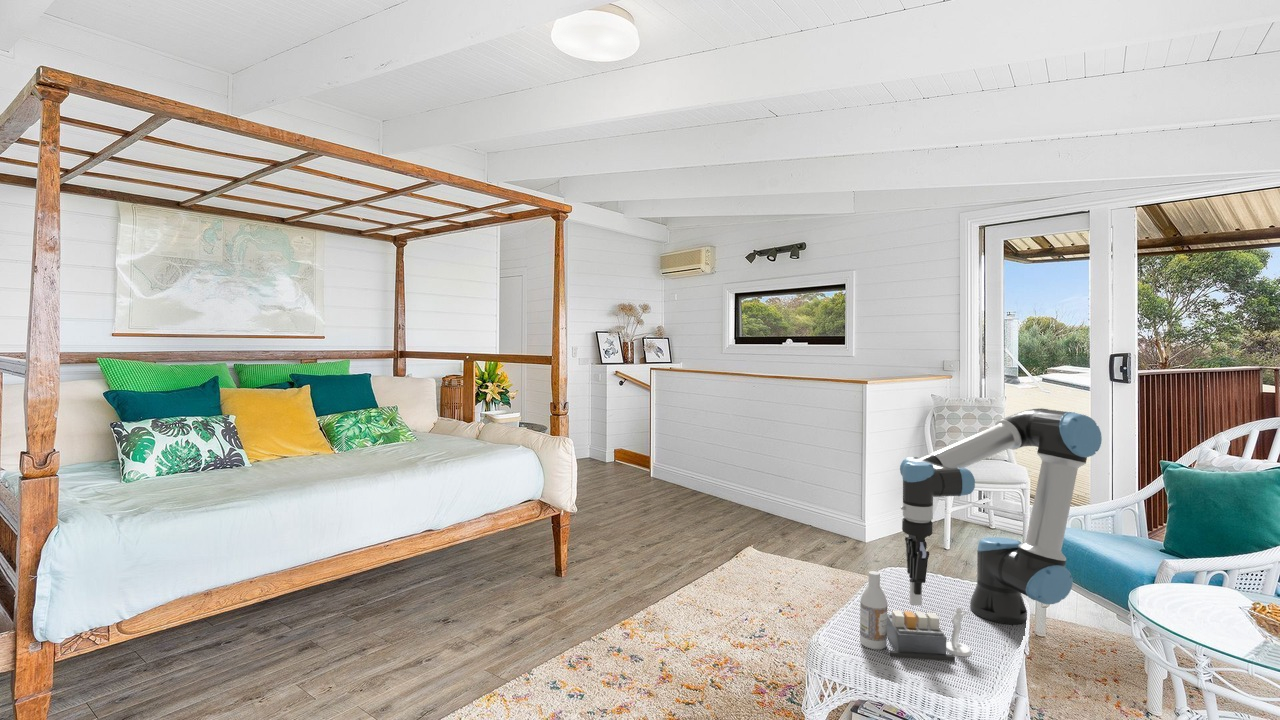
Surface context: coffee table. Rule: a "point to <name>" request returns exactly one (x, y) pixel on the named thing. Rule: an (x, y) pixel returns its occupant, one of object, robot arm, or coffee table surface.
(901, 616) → the cream small block
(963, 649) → the figurine
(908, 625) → the paddle
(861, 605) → the bath foam
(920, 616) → the paddle
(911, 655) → the dark grey slat
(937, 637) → the breaker panel
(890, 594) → the coffee table surface
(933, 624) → the cream rectangular block
